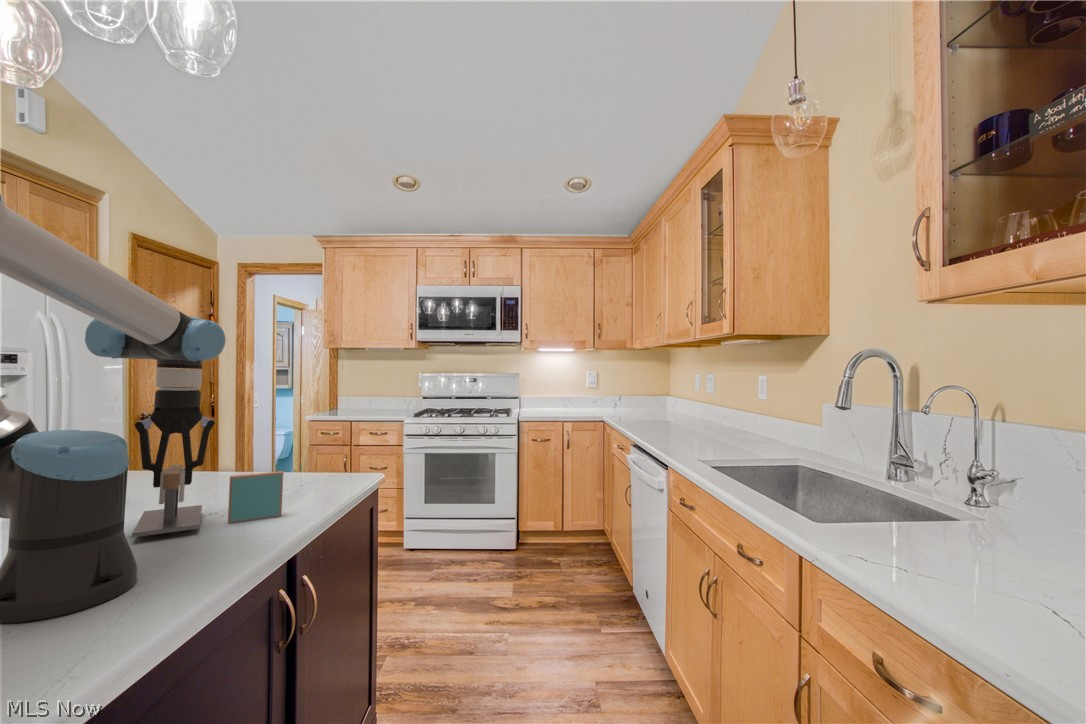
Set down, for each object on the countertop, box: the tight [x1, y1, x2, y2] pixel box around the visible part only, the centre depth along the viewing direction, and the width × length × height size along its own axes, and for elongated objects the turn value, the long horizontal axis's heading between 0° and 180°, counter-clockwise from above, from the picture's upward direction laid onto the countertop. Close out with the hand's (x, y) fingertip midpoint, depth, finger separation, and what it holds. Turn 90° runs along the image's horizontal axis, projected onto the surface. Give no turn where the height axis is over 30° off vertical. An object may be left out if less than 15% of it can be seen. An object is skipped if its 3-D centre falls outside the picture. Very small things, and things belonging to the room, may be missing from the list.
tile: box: [227, 470, 284, 525], centre depth 100 cm, size 2×10×10 cm, turn 126°
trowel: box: [131, 464, 203, 538], centre depth 94 cm, size 16×10×11 cm, turn 36°
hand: (171, 501), depth 94 cm, fingers closed on trowel, 2 cm apart
